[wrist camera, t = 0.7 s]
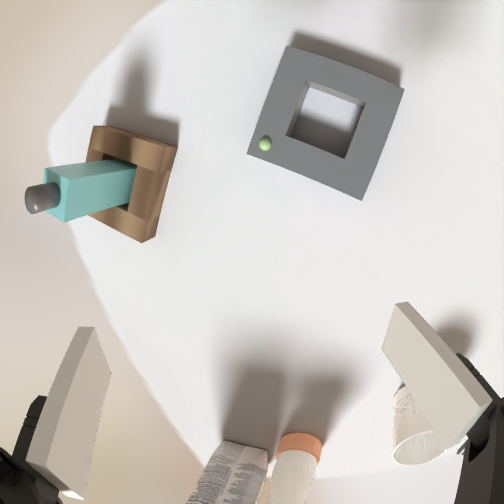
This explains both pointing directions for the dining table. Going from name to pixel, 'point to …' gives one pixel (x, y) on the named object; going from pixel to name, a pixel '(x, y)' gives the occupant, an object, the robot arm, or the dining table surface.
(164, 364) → the dining table surface
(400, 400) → the white cup
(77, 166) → the plug
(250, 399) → the dining table surface
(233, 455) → the juice carton
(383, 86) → the port
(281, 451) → the pepper shaker
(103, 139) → the holster
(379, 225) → the dining table surface
